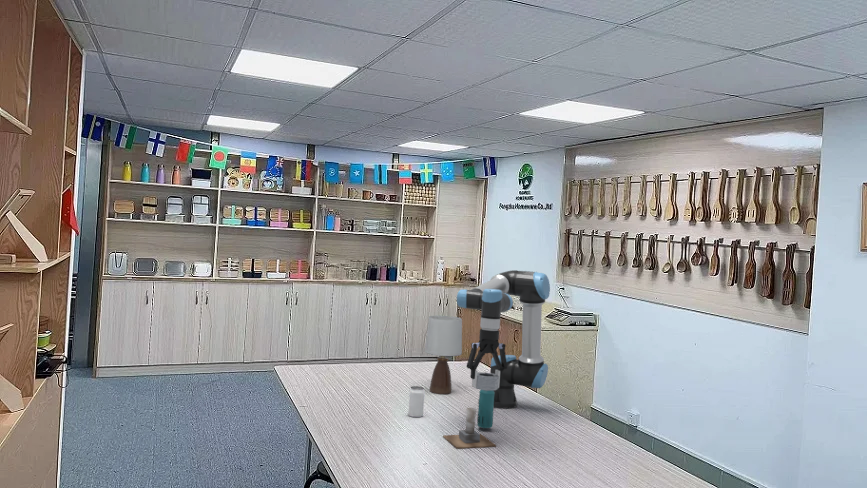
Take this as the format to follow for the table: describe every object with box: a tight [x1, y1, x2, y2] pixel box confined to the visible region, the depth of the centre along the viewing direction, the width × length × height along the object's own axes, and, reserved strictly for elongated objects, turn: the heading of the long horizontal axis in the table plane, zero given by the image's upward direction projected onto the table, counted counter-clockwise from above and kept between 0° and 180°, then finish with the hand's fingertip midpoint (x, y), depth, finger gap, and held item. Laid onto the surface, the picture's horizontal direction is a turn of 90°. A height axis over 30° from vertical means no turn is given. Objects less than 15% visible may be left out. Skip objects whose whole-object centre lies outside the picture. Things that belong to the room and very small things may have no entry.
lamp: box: [424, 315, 463, 395], centre depth 327 cm, size 19×19×37 cm
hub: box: [475, 371, 499, 391], centre depth 253 cm, size 9×9×5 cm
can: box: [407, 385, 425, 418], centre depth 281 cm, size 6×6×12 cm
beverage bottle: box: [476, 389, 495, 429], centre depth 267 cm, size 6×7×20 cm
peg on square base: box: [442, 407, 497, 450], centre depth 250 cm, size 16×14×13 cm
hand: (485, 387), depth 253 cm, fingers closed on hub, 9 cm apart
